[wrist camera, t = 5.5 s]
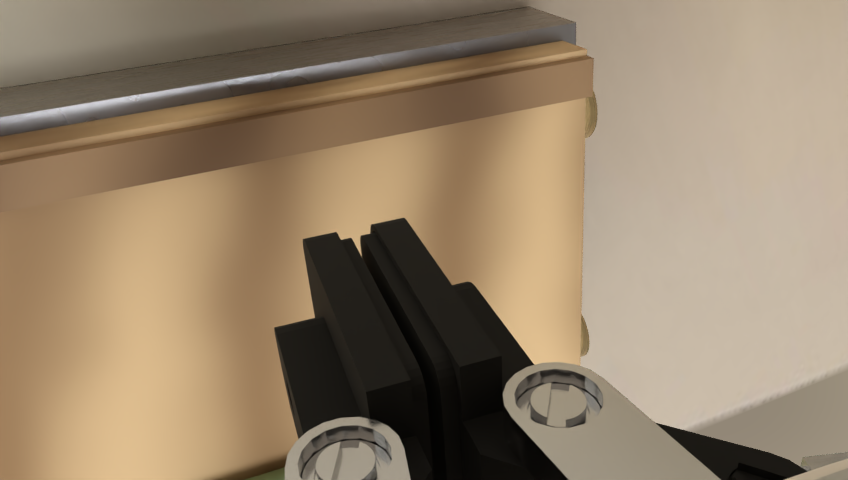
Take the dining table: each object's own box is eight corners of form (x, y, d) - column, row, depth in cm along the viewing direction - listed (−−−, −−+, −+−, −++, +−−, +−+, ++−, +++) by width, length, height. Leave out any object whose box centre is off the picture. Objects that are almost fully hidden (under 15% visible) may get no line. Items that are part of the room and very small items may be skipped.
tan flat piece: (562, 40, 25) (624, 62, 22) (560, 420, 32) (606, 476, 29) (-226, 174, 19) (-291, 232, 16) (-6, 604, 26) (-22, 699, 23)
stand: (558, 2, 28) (608, 17, 25) (555, 372, 36) (592, 414, 33) (-210, 121, 21) (-259, 160, 18) (-3, 542, 29) (-16, 613, 26)
